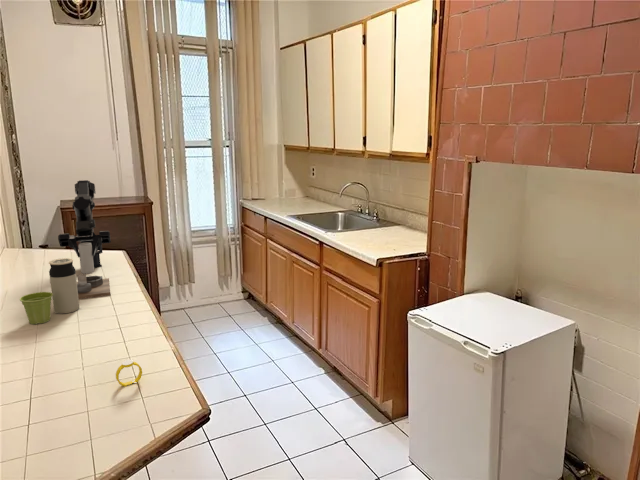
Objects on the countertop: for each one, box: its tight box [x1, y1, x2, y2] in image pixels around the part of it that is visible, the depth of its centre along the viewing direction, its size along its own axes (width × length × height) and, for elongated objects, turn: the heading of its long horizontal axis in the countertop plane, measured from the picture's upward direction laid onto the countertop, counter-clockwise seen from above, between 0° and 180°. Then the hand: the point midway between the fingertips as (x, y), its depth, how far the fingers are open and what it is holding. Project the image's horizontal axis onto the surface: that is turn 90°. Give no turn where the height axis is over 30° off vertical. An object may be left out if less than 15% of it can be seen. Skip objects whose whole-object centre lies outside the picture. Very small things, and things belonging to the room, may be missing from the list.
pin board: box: [76, 273, 112, 300], centre depth 187 cm, size 20×16×8 cm
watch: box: [115, 359, 143, 387], centre depth 117 cm, size 6×3×6 cm, turn 126°
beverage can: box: [77, 242, 95, 275], centre depth 189 cm, size 5×5×12 cm
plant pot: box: [19, 291, 53, 325], centre depth 156 cm, size 9×9×9 cm
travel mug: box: [48, 257, 80, 315], centre depth 165 cm, size 8×8×18 cm
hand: (85, 256), depth 188 cm, fingers closed on beverage can, 5 cm apart
